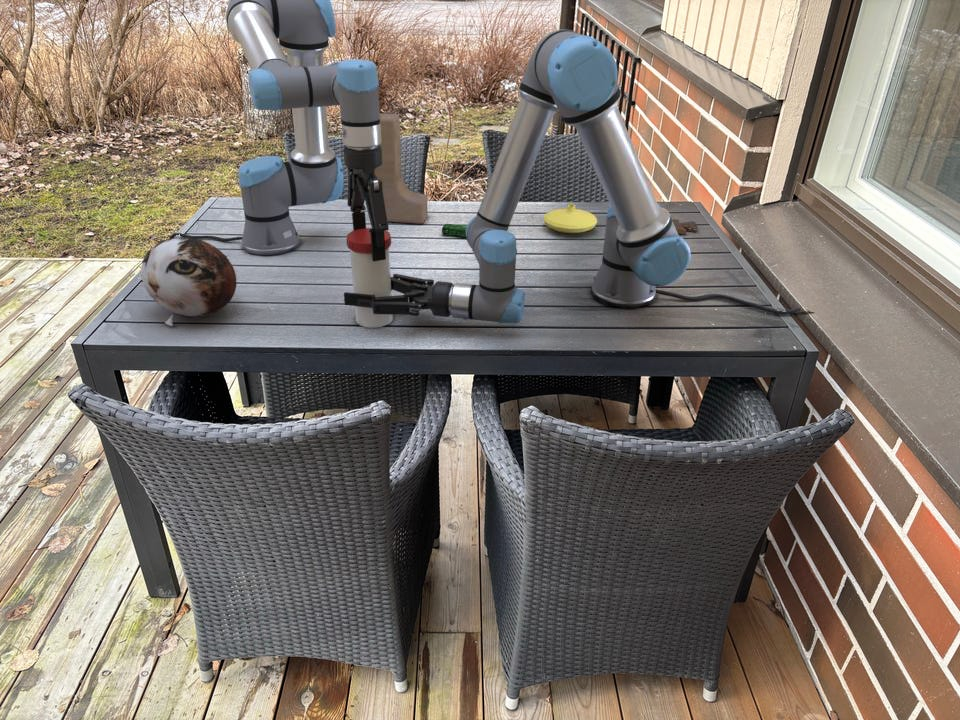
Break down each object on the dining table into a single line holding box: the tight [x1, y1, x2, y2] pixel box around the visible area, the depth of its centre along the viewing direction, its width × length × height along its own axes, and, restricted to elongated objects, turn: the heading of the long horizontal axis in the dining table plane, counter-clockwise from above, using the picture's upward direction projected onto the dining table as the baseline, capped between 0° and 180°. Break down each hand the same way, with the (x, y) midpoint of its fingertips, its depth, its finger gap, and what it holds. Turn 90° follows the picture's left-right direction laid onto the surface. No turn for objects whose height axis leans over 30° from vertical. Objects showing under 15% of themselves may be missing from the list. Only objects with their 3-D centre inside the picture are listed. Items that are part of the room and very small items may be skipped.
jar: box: [349, 247, 394, 329], centre depth 155 cm, size 8×8×19 cm
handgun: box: [441, 223, 467, 238], centre depth 207 cm, size 16×3×15 cm
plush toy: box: [140, 236, 238, 327], centre depth 157 cm, size 22×18×20 cm
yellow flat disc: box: [543, 203, 598, 234], centre depth 209 cm, size 16×16×7 cm
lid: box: [345, 227, 392, 253], centre depth 151 cm, size 9×9×2 cm
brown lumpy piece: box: [672, 218, 698, 235], centre depth 212 cm, size 26×2×10 cm
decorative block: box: [374, 112, 429, 225], centre depth 209 cm, size 8×15×30 cm, turn 82°
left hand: (369, 250), depth 152 cm, fingers open, 11 cm apart
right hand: (352, 289), depth 158 cm, fingers closed on jar, 8 cm apart
